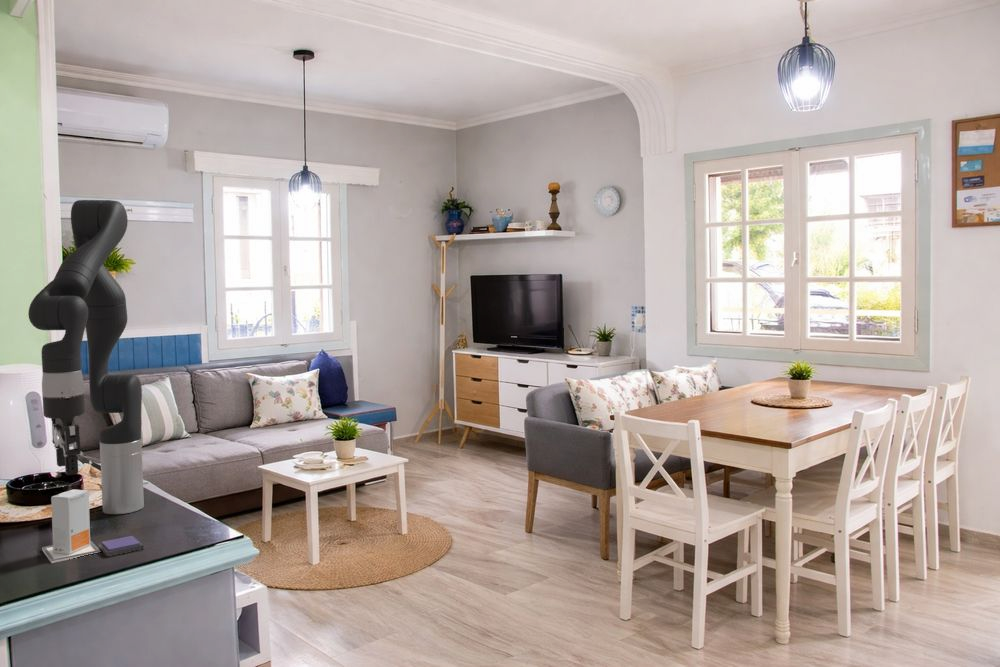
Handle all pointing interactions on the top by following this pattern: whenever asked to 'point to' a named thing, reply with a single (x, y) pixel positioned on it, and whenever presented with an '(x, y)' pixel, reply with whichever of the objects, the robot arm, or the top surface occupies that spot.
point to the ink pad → (120, 545)
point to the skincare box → (70, 521)
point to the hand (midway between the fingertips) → (67, 469)
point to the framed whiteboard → (62, 557)
